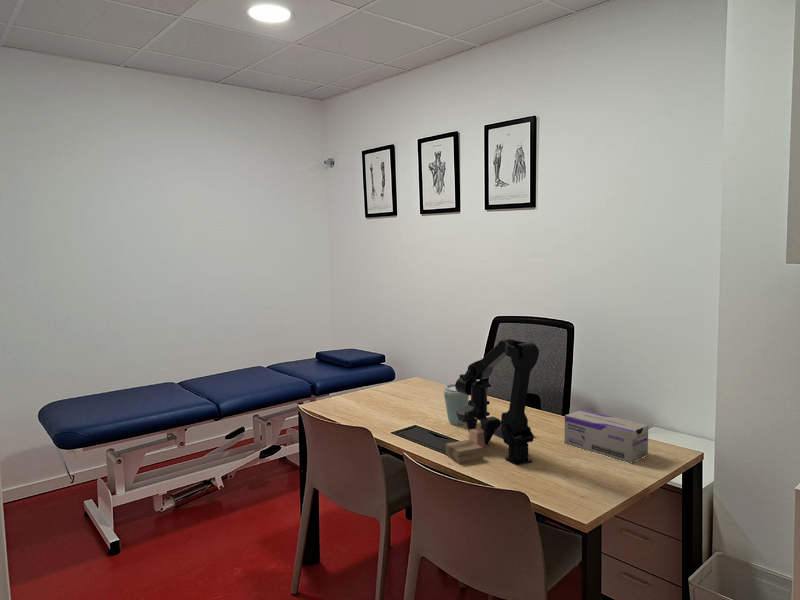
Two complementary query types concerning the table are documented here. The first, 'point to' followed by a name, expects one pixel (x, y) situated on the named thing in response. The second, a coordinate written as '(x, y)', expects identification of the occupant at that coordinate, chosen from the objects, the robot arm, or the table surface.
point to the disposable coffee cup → (454, 403)
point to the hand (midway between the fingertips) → (479, 440)
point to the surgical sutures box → (606, 435)
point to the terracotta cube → (477, 436)
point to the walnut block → (464, 451)
